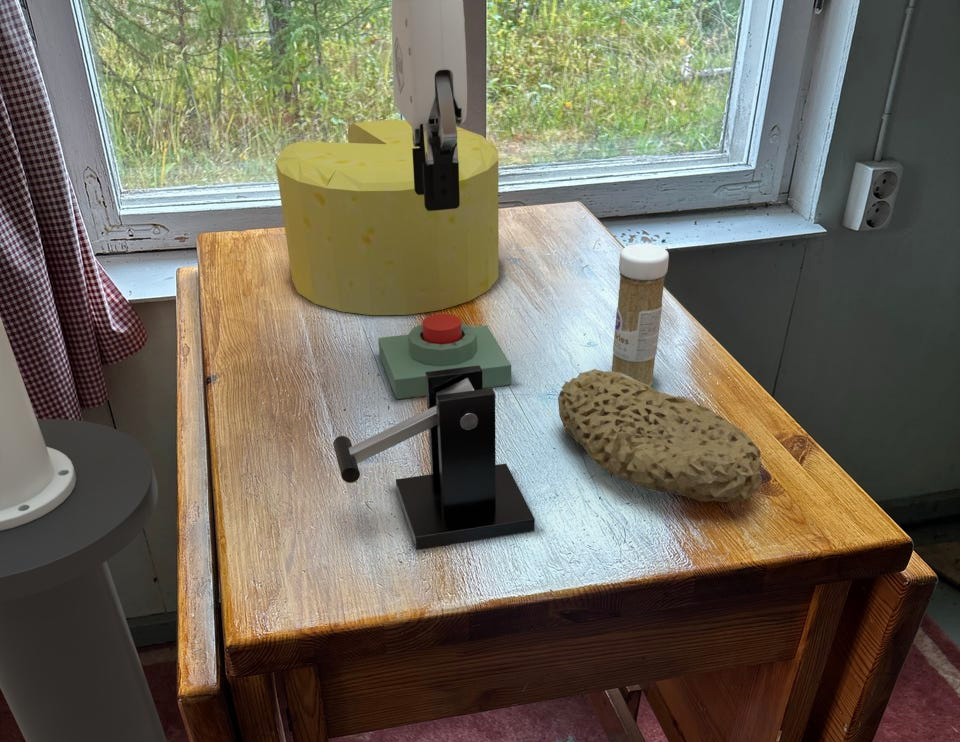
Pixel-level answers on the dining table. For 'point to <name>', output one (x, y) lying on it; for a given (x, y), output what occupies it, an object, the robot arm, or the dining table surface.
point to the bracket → (462, 471)
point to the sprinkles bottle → (639, 310)
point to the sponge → (659, 438)
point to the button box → (441, 359)
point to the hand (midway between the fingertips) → (436, 198)
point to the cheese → (387, 223)
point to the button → (442, 329)
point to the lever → (387, 437)
